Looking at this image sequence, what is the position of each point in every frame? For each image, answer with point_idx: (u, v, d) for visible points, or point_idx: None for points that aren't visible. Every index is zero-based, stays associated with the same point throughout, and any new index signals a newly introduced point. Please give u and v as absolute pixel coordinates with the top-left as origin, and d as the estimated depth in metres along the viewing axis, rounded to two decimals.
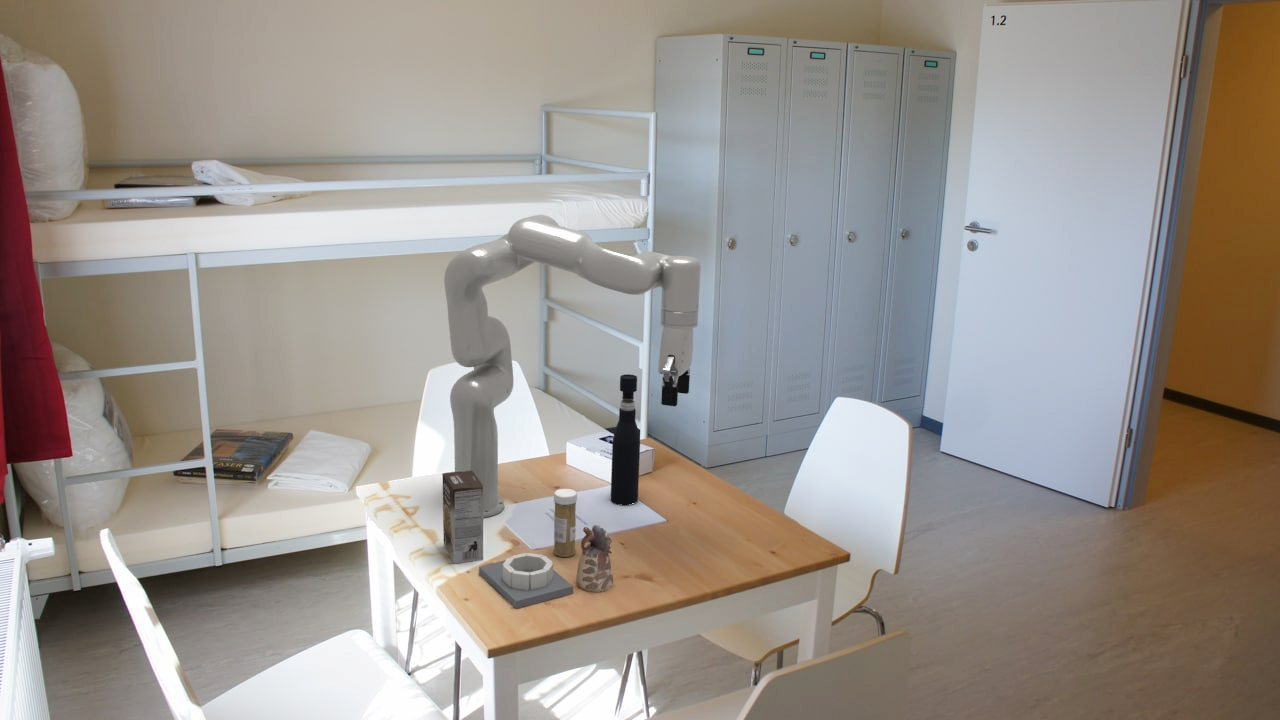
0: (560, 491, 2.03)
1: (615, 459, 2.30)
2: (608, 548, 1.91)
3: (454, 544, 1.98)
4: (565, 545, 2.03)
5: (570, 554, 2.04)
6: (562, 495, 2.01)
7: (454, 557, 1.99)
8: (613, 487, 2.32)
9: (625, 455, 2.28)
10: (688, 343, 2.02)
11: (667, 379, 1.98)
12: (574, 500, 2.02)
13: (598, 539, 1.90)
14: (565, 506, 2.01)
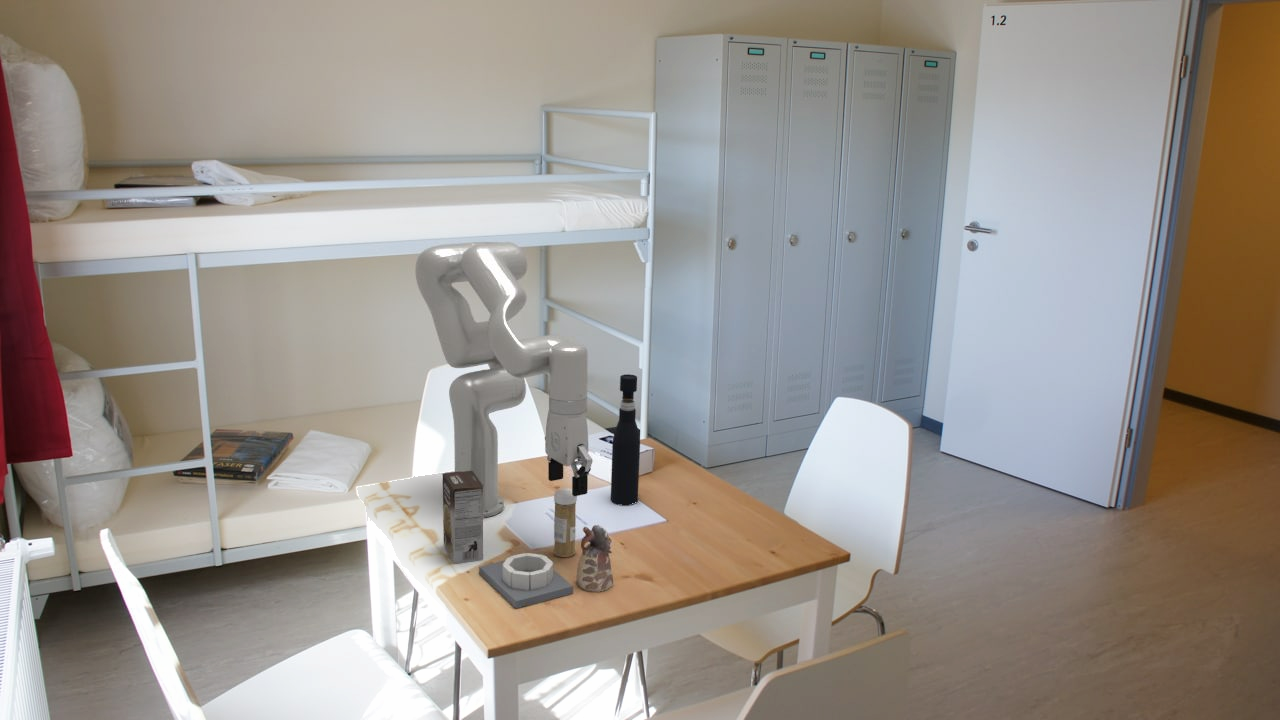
0: (560, 491, 2.03)
1: (615, 459, 2.30)
2: (608, 548, 1.91)
3: (454, 544, 1.98)
4: (565, 545, 2.03)
5: (570, 554, 2.04)
6: (562, 495, 2.01)
7: (454, 557, 1.99)
8: (613, 487, 2.32)
9: (625, 455, 2.28)
10: None
11: (588, 469, 1.94)
12: (574, 500, 2.02)
13: (598, 539, 1.90)
14: (565, 506, 2.01)
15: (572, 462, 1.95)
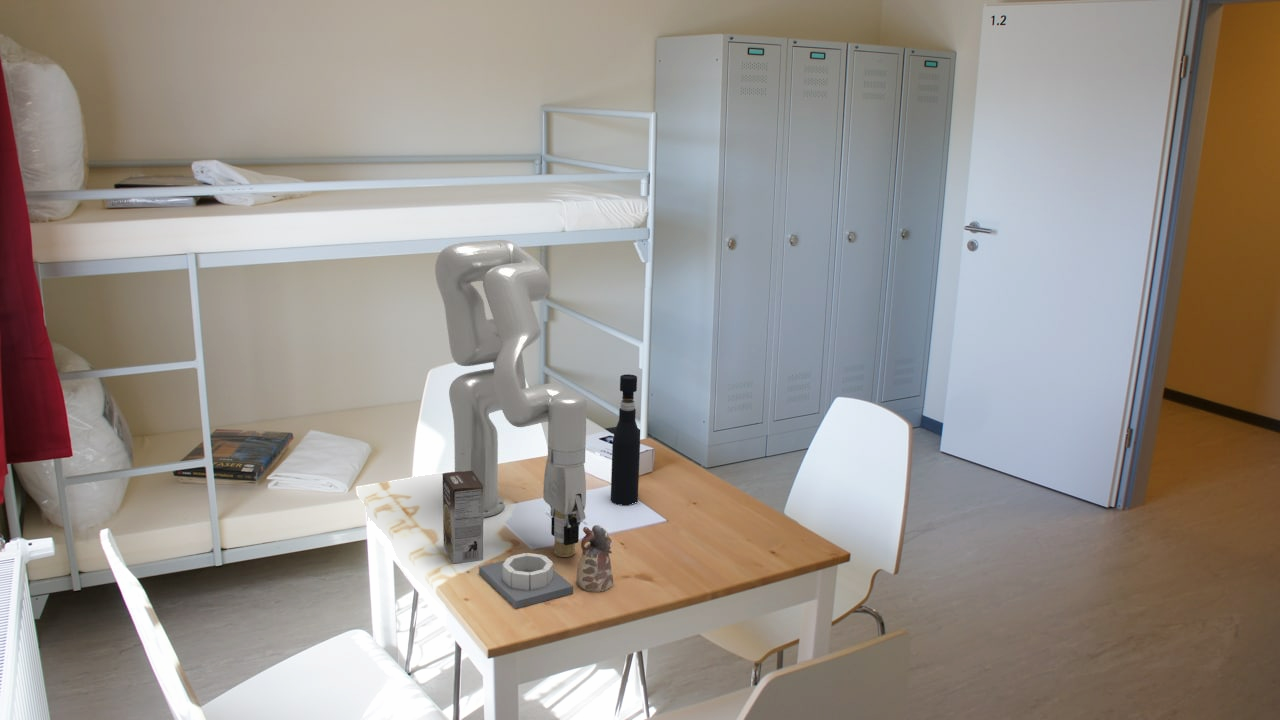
0: None
1: (615, 459, 2.30)
2: (608, 548, 1.91)
3: (454, 544, 1.98)
4: (565, 545, 2.03)
5: (570, 554, 2.04)
6: None
7: (454, 557, 1.99)
8: (613, 487, 2.32)
9: (625, 455, 2.28)
10: None
11: (579, 521, 1.99)
12: None
13: (598, 539, 1.90)
14: None
15: (570, 511, 1.98)
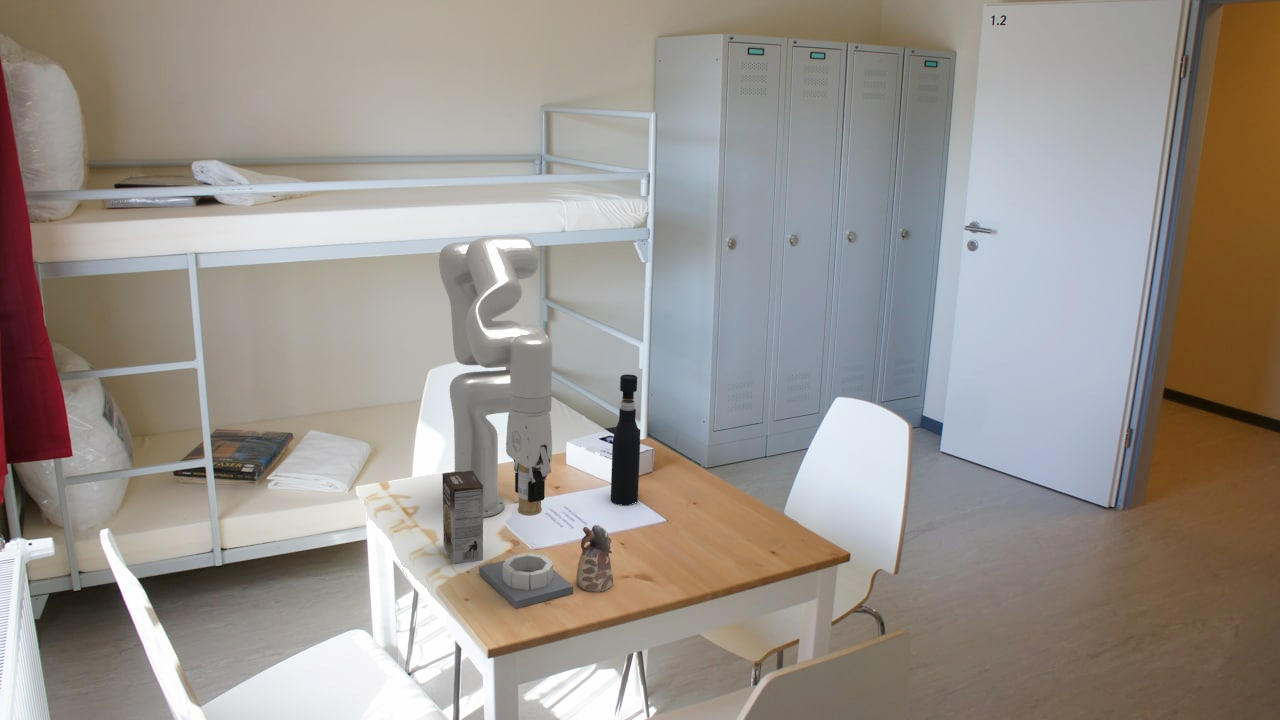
0: None
1: (615, 459, 2.30)
2: (608, 548, 1.91)
3: (454, 544, 1.98)
4: None
5: (536, 512, 1.86)
6: None
7: (454, 557, 1.99)
8: (613, 487, 2.32)
9: (625, 455, 2.28)
10: None
11: (544, 476, 1.82)
12: None
13: (598, 539, 1.90)
14: None
15: (534, 464, 1.80)
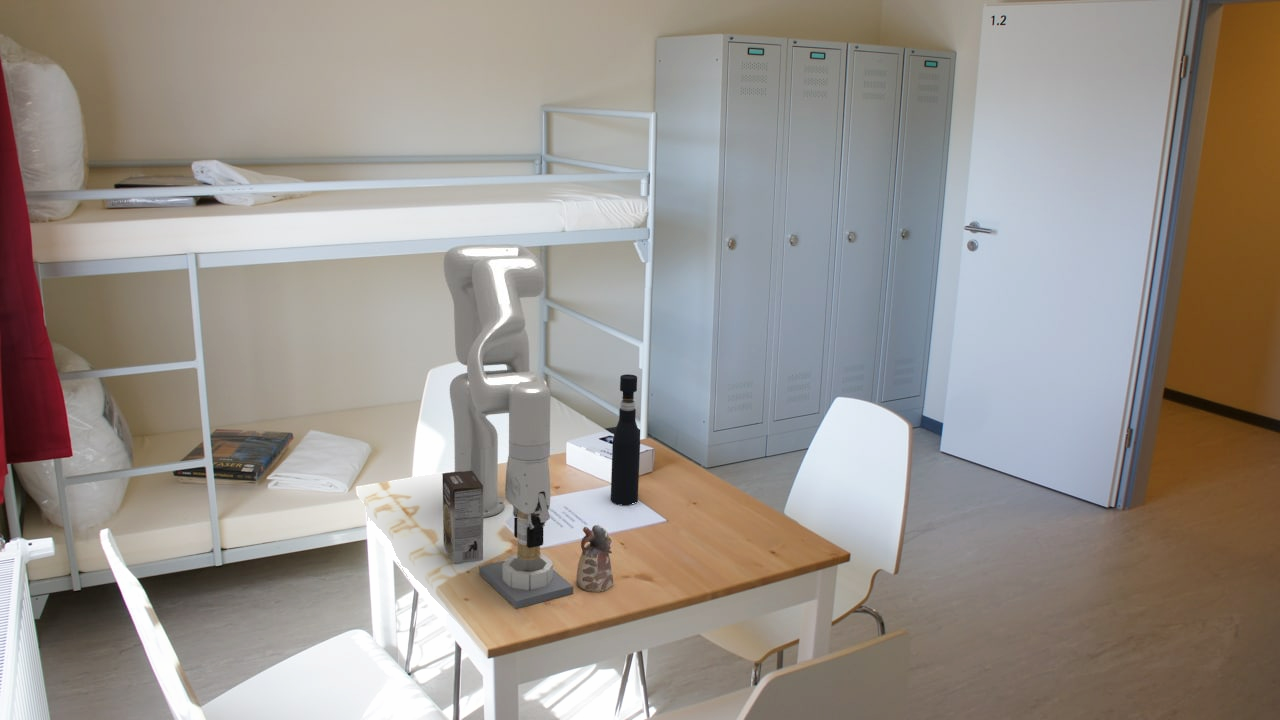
0: None
1: (615, 459, 2.30)
2: (608, 548, 1.91)
3: (454, 544, 1.98)
4: None
5: (534, 557, 1.88)
6: None
7: (454, 557, 1.99)
8: (613, 487, 2.32)
9: (625, 455, 2.28)
10: None
11: (543, 522, 1.84)
12: None
13: (598, 539, 1.90)
14: None
15: (532, 511, 1.82)
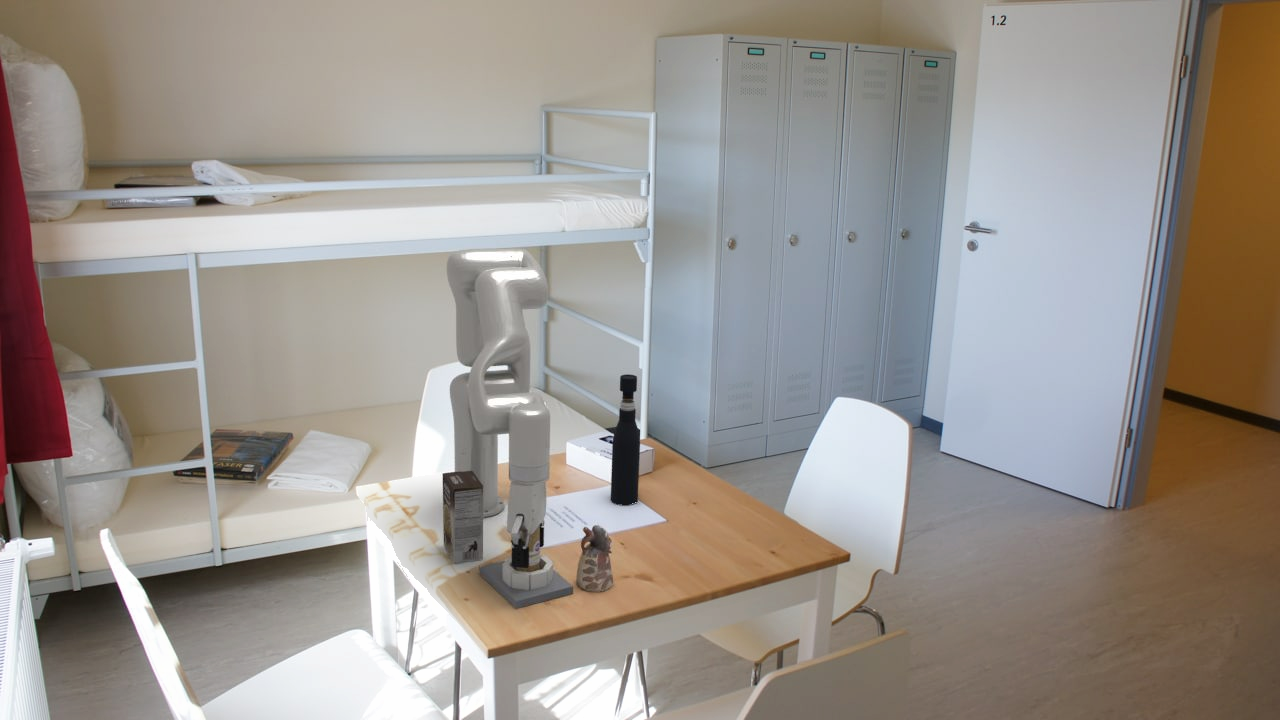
0: None
1: (615, 459, 2.30)
2: (608, 548, 1.91)
3: (454, 544, 1.98)
4: (520, 568, 1.89)
5: None
6: None
7: (454, 557, 1.99)
8: (613, 487, 2.32)
9: (625, 455, 2.28)
10: (539, 498, 1.85)
11: (516, 542, 1.81)
12: None
13: (598, 539, 1.90)
14: None
15: (510, 530, 1.84)
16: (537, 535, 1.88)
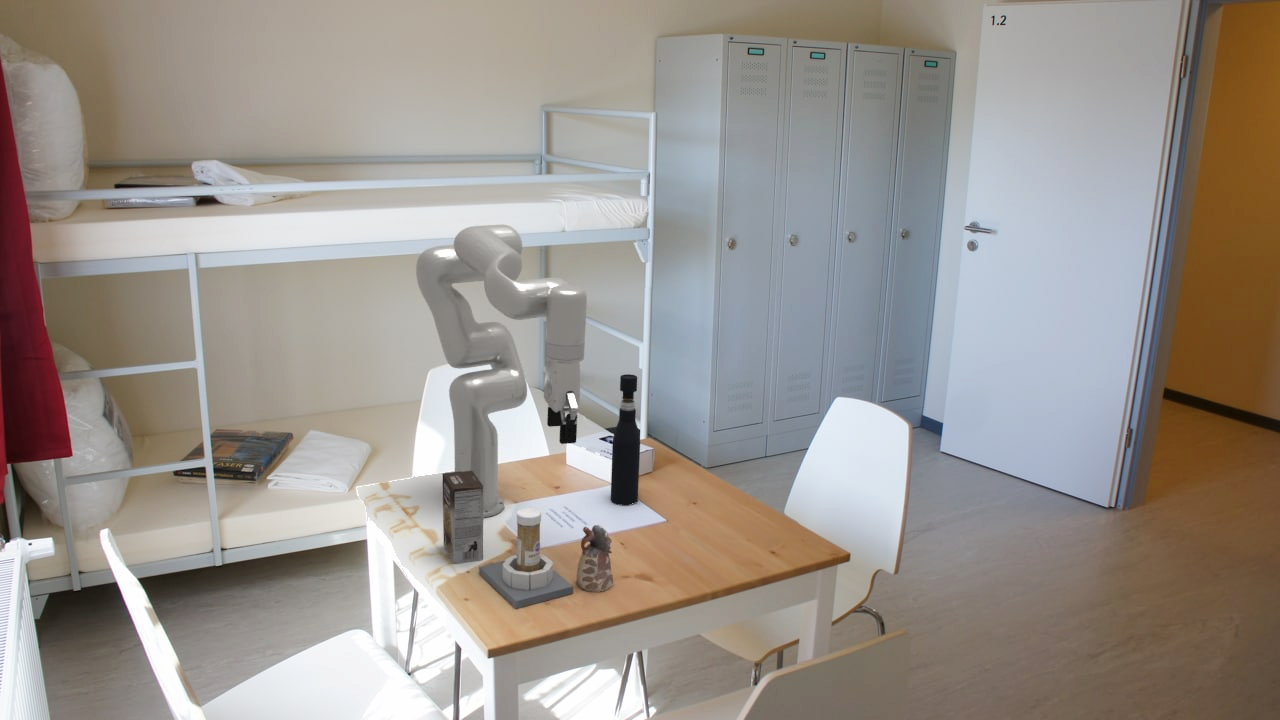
0: (526, 510, 1.89)
1: (615, 459, 2.30)
2: (608, 548, 1.91)
3: (454, 544, 1.98)
4: (520, 568, 1.89)
5: None
6: (519, 513, 1.88)
7: (454, 557, 1.99)
8: (613, 487, 2.32)
9: (625, 455, 2.28)
10: None
11: (573, 417, 1.89)
12: (530, 523, 1.87)
13: (598, 539, 1.90)
14: (520, 526, 1.87)
15: (560, 408, 1.90)
16: (537, 535, 1.88)
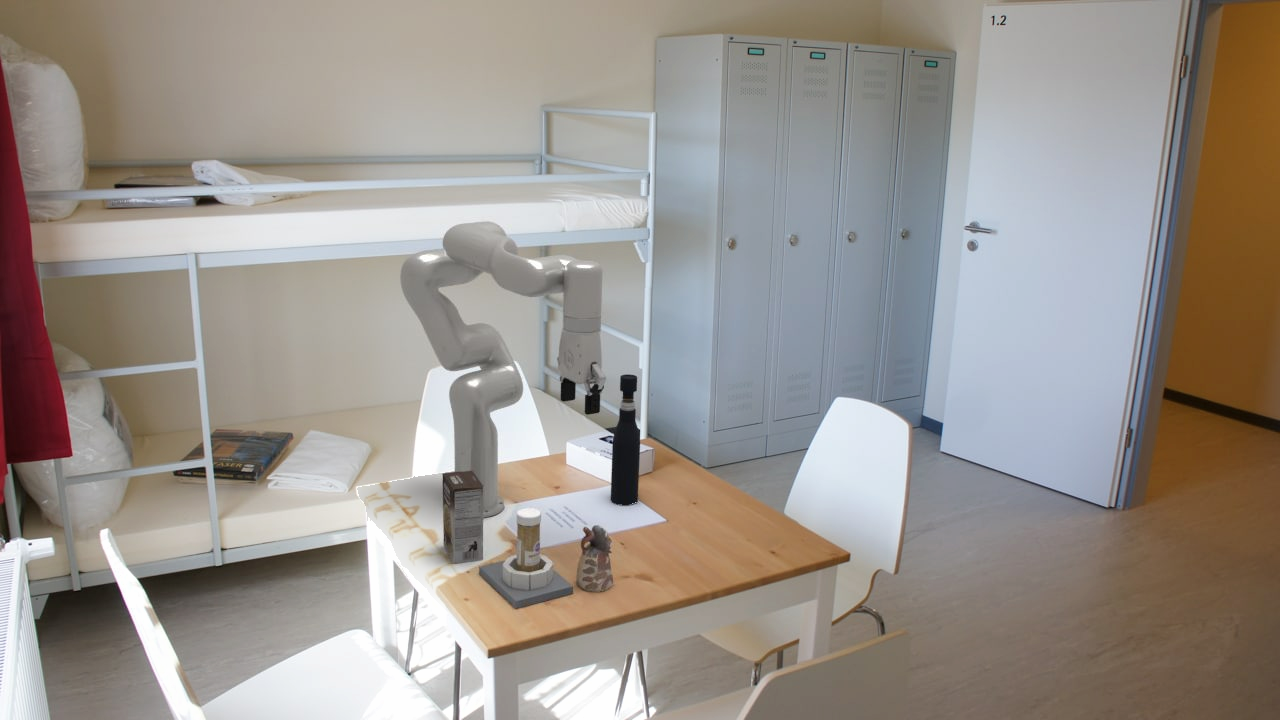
0: (526, 510, 1.89)
1: (615, 459, 2.30)
2: (608, 548, 1.91)
3: (454, 544, 1.98)
4: (520, 568, 1.89)
5: None
6: (520, 513, 1.88)
7: (454, 557, 1.99)
8: (613, 487, 2.32)
9: (625, 455, 2.28)
10: None
11: (601, 387, 1.94)
12: (530, 523, 1.87)
13: (598, 539, 1.90)
14: (520, 526, 1.87)
15: (585, 380, 1.95)
16: (537, 535, 1.88)
